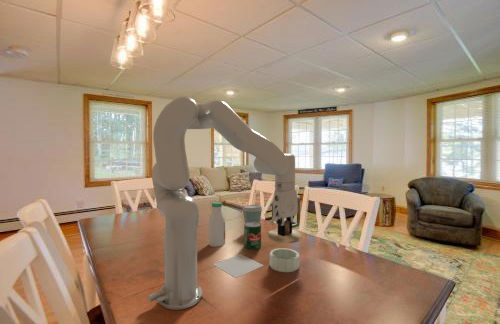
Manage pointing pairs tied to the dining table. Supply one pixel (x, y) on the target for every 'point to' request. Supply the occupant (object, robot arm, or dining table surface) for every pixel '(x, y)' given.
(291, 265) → the bowl
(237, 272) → the mat
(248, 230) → the canned tomato
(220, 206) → the milk bottle
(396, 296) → the dining table surface
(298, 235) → the lid
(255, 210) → the disposable coffee cup
